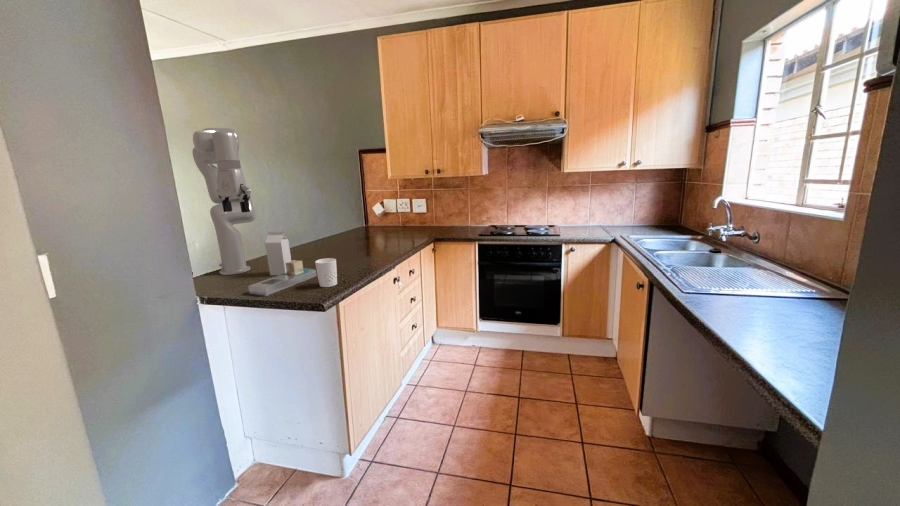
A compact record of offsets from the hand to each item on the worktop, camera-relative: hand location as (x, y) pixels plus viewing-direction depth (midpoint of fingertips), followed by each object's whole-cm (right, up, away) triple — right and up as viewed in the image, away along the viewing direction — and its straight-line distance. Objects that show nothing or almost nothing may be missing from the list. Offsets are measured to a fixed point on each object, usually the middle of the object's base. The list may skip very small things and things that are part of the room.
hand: (236, 211), depth 139 cm
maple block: (+17, -27, +14) cm, 35 cm away
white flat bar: (+15, -29, +8) cm, 33 cm away
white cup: (+33, -29, +6) cm, 44 cm away
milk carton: (+6, -25, +25) cm, 36 cm away
